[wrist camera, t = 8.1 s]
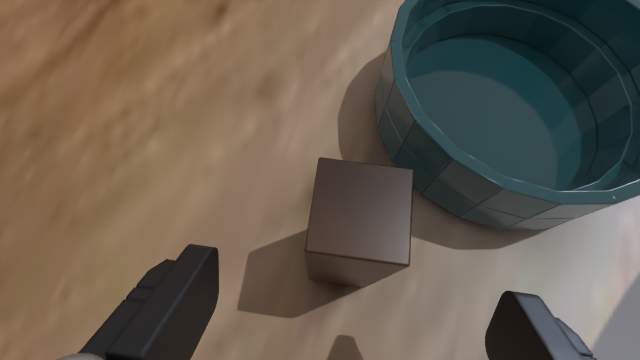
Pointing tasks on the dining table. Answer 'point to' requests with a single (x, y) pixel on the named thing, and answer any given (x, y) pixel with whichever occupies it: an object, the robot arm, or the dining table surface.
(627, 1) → the bowl
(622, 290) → the dining table surface
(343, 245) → the brown rectangular block
